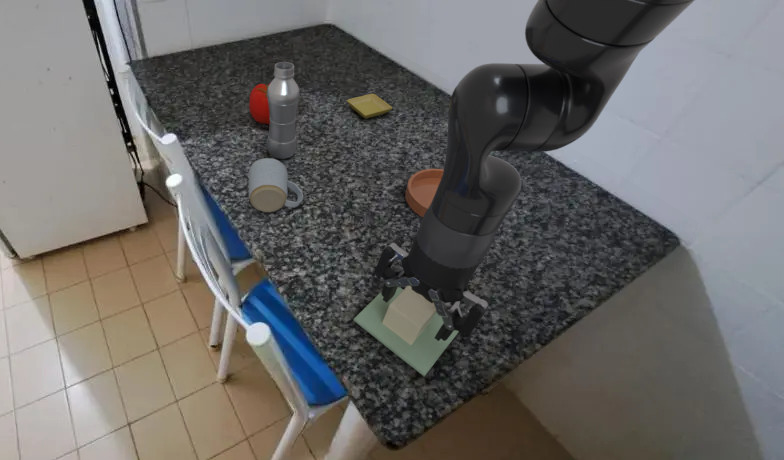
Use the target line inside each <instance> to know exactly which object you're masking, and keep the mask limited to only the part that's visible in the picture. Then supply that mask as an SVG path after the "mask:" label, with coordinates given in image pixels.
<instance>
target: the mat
mask: <svg viewBox="0 0 784 460" xmlns="http://www.w3.org/2000/svg"><path fill="white" fill-rule="evenodd" d="M403 290H404V289H403V287H398V288H397V290H396V293H395V295H394V296H393V297H392V298H391V299H390V300H389V301H388V302H387V303H386V302H385V301H383V296H382V294H381V292H382V290H381V291H380V292H379V293H378V294H377V295H376V296H375V297H374V298H373V299H372V300H371V301H370V302H369V303H368V304H367V305H366V306H365V307H364V308H363V309H362V310H361V311H360V312H359V313H358V314H357V315H356V316H355V317H354V318H353V321H354V322H355V323H356V324H357V325H358V326H360V327H361V328H362V329H364V330H365V331H366V332H368V334H370V335H371V336H372V337H373V338H375V339H376V340H377V341H378V342H380V343H381V344H382V345H383V346H385V347H386V348H387V349H389V350H390V351H391V352H392V353H394V354H395V355H396V356H397V357H398V358H400V359H401V360H402V361H403V362H405V363H406V364H407V365H409V366H410V367H411V368H413V369H414V370H415V371H416V372H417V373H419V374H420V375H421V376H422V377H425V376H426V375H428V373H429V371H430V370H431V369H432V368H433V366H434V365H435V363H436V362H437V361H438V359H439V358H440V357H441V356H442V354H443V353H444V352H445V350H447V348H448V347H449V345H450V344H451V343H452V341H454V340H455V338H456V337H457V335H458V333H459V331H457V330H454V331H453V332H452V334H451V335H450V336H449V338H448V339H447V340H445V341H443V340H442V339H440V340H439V341H438V340H436V339H435V338H434V337H435V336H436V334H437V332H438V331H439V329H440V328H441V326H442V325H443V323H444V322H443V319H442V317H441V316H439V315H438V314H437V312H436V313H435V315H434V316H433V318H432V320H431V321H430V323H429V325H428V326H427V327H426V328H425V329H424V331H423V332H422V333H421V334H420V336H419V337H418V338H417V339H416V340H415V342H414V343H413V344H412V345H410V344H408V343H407V342H406V341H404V340H403V339H402V338H400V337H399V336H398V335H396V334H395V333H394V332H392V331H391V330H390V329H389V328H387V327H386V326H385V325H383V324H382V322H383V319H384V317H385V314H386V312H387V310H388V307H389V305H390V304H391V303H392V302H393V301H394V300H395V298H396V297H397V296H398V295H399V294H400V293H401V292H402V291H403Z"/></svg>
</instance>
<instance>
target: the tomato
mask: <svg viewBox="0 0 784 460" xmlns="http://www.w3.org/2000/svg"><path fill="white" fill-rule="evenodd" d="M269 85H270V83H269V84H268V83H258V84H257V85H255V86H254V88H252V90H251V92H250V94H249V104H248V107H249V113H250V115H251V116H252V119H254V121H256V122H257V123H259V124H260V125H266V124H267V125H268V126H270V116H269V105H268V99H267V89H268V86H269Z"/></svg>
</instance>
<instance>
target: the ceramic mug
mask: <svg viewBox="0 0 784 460" xmlns="http://www.w3.org/2000/svg"><path fill="white" fill-rule="evenodd" d="M248 169H249V170H248V198H249V203H250V204H251V206H252V207H253V208H254V209H256V210H257V211H259V212H264V213H273V212H276V211H279V210H281V209H282V208H283V207H287V208H294V209H295V208H297V207H300V205H301V204H302V202H303V200H304V192H303V191H302V189H301V188H300V187H299V186H298V184H296V183H295V182H294V181H291V180H289V179H288V178H289V177H288V175H289V174H288V173H289V172H288V169H287V167H286V165H285V164H284V163H283V162H281V161H280V160H279V159H277V158H271V157H265V158H260V159H257V160H256V161H255V162H253V163H252V164H251V165H250V167H249V168H248ZM288 189H289V190H292V192H294V194H296V196H297V200H296V201H294V200H290V199H288Z"/></svg>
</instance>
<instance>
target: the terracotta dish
mask: <svg viewBox="0 0 784 460" xmlns="http://www.w3.org/2000/svg"><path fill="white" fill-rule="evenodd" d="M443 172H444V168H443V169H442V168H426V169H422V170H419V171H417V172H415V173H413V174H412V175H411V176H410V177H409V179H408V181H407V184H406V187H405V191H404V197H405V202H406V203H407V205H408V207H409V208H410V209H411V210H412V211H413V212H414V213H416V214H417V215H418V216H419V217H421V218H423V217H424V214H425V212H426V211H427V209H428V208H429V206H430V204H431V203H432V200H433V198H434V195H435V193H436V190H437V188H438V185H439V183H440V181H441V178H442V176H443Z"/></svg>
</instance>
